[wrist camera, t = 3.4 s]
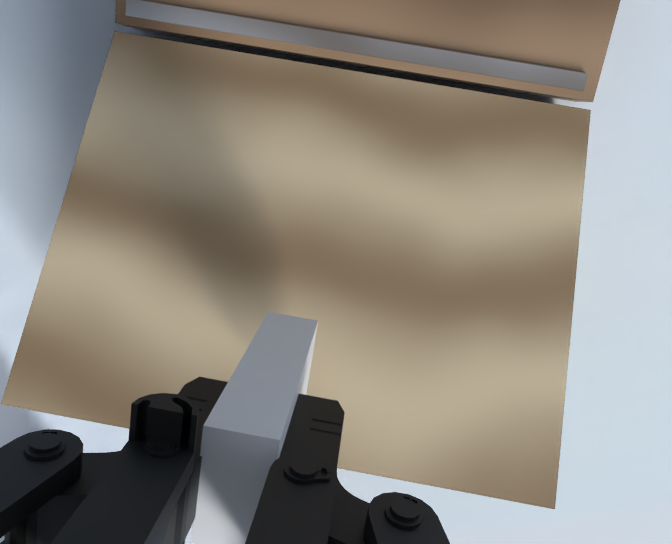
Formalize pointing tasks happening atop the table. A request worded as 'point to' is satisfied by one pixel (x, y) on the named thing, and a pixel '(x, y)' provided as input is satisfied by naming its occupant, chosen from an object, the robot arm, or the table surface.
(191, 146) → the oak plank
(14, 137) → the table surface
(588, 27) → the walnut board
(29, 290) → the table surface
